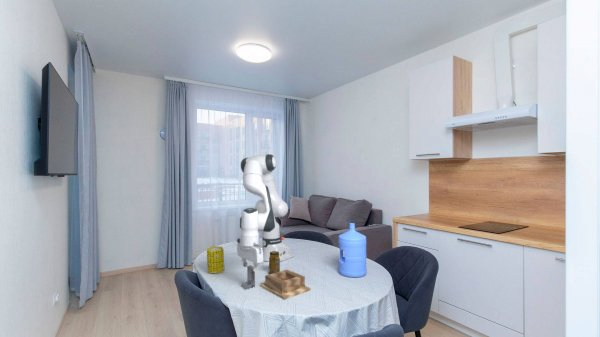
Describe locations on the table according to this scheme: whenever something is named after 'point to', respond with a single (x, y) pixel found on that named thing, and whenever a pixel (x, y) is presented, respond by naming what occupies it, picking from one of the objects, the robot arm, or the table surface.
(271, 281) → the box
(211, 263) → the food
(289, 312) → the table surface
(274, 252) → the condiment
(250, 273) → the bracket
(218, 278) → the table surface
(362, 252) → the water jug
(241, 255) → the robot arm
